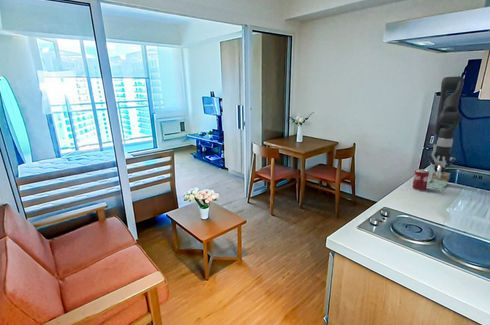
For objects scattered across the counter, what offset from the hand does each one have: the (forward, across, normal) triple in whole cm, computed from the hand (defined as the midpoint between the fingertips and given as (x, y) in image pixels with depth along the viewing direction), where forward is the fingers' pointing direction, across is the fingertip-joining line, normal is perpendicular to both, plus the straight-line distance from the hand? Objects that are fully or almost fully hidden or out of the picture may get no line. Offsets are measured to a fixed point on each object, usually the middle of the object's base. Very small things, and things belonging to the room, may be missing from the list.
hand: (439, 171), depth 161 cm
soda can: (+10, +6, +13) cm, 17 cm away
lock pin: (+5, 0, 0) cm, 5 cm away
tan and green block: (+10, +1, -12) cm, 15 cm away
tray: (+9, 0, 0) cm, 9 cm away
